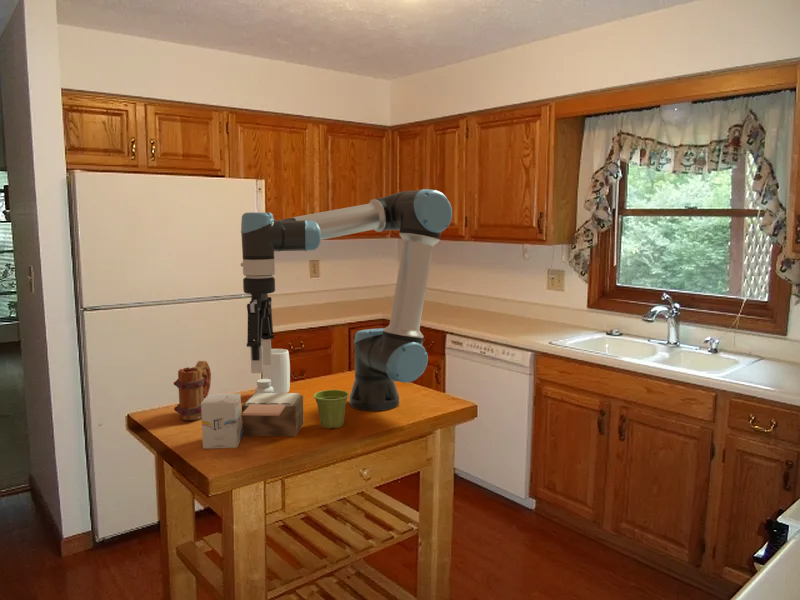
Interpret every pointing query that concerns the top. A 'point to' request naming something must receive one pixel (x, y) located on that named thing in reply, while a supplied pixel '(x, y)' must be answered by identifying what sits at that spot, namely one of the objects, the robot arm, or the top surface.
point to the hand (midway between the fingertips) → (261, 368)
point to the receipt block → (274, 425)
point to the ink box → (221, 420)
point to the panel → (264, 410)
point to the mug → (192, 390)
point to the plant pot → (331, 407)
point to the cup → (278, 371)
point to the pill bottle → (264, 386)
